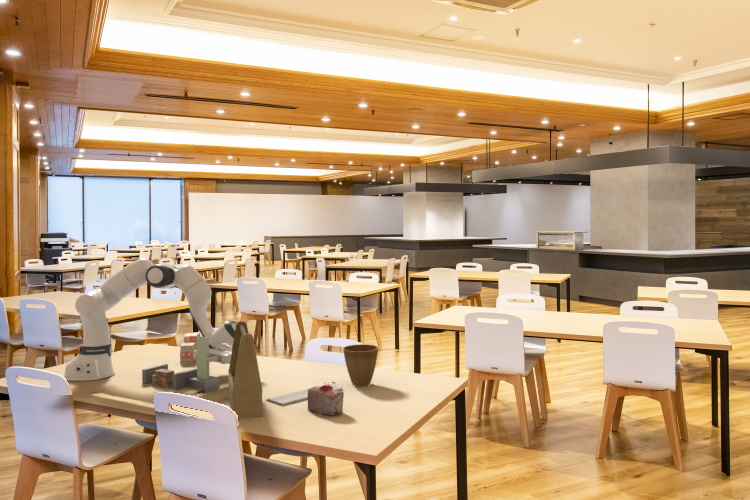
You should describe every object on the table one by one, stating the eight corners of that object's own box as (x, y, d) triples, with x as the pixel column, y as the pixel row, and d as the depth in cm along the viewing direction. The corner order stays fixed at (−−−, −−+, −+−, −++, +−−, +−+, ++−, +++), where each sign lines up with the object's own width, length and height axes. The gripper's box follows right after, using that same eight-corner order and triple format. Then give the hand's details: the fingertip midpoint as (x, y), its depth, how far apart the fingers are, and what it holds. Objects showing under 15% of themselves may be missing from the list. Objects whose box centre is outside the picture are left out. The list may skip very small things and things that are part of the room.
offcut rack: (198, 386, 253) (198, 368, 253) (176, 393, 243) (175, 374, 243) (164, 380, 263) (164, 363, 263) (142, 386, 253) (142, 369, 252)
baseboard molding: (263, 401, 234) (282, 407, 226) (263, 393, 234) (282, 400, 226) (323, 386, 256) (342, 391, 248) (323, 379, 256) (342, 384, 248)
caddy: (262, 416, 213) (262, 332, 212) (232, 419, 210) (231, 334, 209) (255, 394, 241) (254, 320, 240) (227, 397, 238) (227, 321, 237)
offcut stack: (176, 385, 250) (176, 370, 250) (167, 387, 246) (166, 373, 246) (161, 382, 254) (160, 368, 254) (151, 384, 250) (151, 370, 250)
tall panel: (209, 385, 247) (208, 337, 246) (206, 386, 246) (206, 338, 245) (199, 384, 250) (199, 336, 249) (197, 384, 249) (196, 336, 248)
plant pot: (357, 378, 267) (357, 342, 266) (384, 383, 258) (384, 346, 257) (336, 385, 254) (336, 348, 254) (364, 391, 246) (364, 352, 245)
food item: (347, 412, 217) (347, 385, 217) (333, 418, 211) (332, 390, 211) (318, 406, 225) (318, 380, 225) (304, 411, 219) (304, 384, 219)
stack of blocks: (193, 364, 296) (192, 339, 296) (179, 364, 295) (179, 339, 295) (200, 354, 317) (200, 331, 317) (188, 355, 317) (188, 332, 316)
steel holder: (219, 389, 249) (219, 377, 249) (205, 393, 242) (205, 381, 242) (201, 386, 254) (201, 374, 254) (187, 390, 247) (187, 378, 247)
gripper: (207, 343, 264) (183, 349, 252) (242, 348, 254) (219, 354, 242) (207, 357, 264) (183, 364, 252) (243, 363, 254) (219, 369, 242)
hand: (201, 359), depth 247 cm, fingers closed on tall panel, 5 cm apart
